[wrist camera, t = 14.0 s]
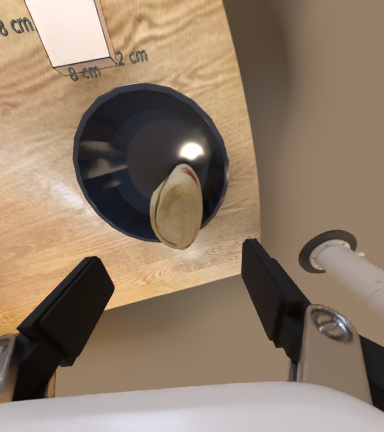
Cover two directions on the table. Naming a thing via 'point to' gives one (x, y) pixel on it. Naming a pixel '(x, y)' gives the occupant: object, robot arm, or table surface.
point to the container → (72, 35)
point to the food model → (177, 208)
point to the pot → (145, 154)
